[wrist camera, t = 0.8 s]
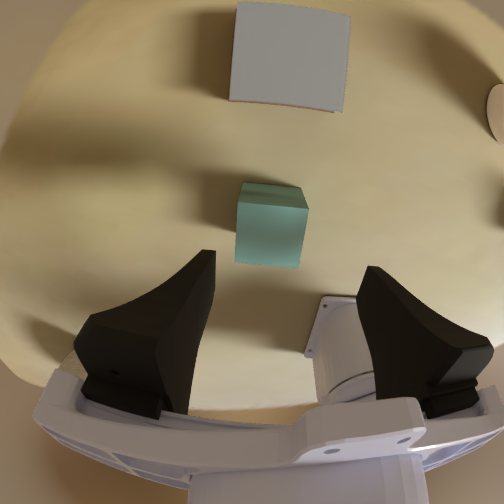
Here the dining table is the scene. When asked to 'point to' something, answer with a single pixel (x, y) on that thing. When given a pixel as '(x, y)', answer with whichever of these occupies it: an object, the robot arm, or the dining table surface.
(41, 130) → the dining table surface
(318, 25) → the tower top
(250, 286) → the dining table surface
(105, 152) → the dining table surface
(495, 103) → the can
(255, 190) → the teal block
